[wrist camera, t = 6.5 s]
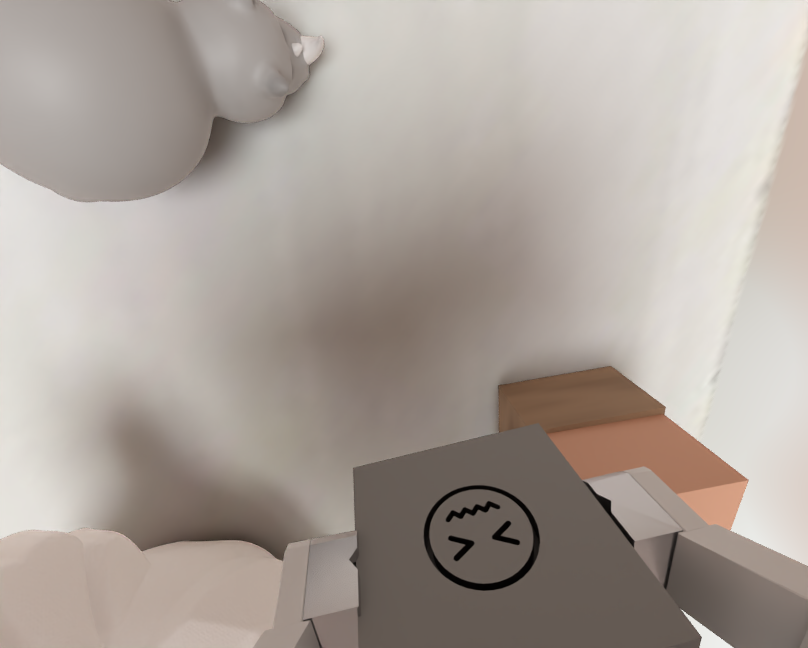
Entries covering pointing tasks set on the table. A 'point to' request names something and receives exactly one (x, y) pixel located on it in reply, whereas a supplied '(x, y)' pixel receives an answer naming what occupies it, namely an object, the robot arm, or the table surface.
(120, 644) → the decorative rooster
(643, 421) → the terracotta top block
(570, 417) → the walnut base block
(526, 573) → the dice cube
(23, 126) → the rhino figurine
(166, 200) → the table surface
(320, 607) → the robot arm
